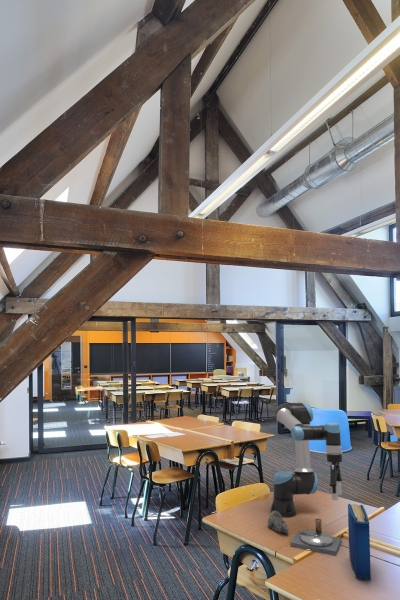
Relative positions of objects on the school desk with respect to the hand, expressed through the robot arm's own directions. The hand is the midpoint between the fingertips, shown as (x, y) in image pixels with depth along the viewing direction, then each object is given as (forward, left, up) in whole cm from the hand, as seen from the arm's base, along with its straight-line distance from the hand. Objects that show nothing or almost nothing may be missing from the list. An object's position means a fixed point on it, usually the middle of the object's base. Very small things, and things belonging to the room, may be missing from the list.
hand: (337, 497), depth 225 cm
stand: (+5, -10, -23) cm, 25 cm away
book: (+22, +13, -23) cm, 34 cm away
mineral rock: (-2, -32, -23) cm, 40 cm away
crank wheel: (+5, -10, -21) cm, 24 cm away
